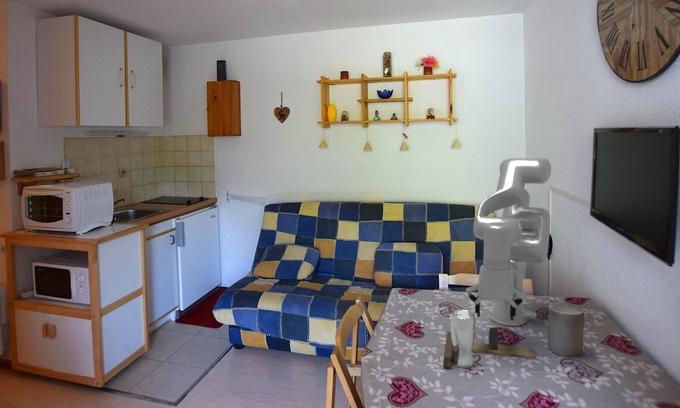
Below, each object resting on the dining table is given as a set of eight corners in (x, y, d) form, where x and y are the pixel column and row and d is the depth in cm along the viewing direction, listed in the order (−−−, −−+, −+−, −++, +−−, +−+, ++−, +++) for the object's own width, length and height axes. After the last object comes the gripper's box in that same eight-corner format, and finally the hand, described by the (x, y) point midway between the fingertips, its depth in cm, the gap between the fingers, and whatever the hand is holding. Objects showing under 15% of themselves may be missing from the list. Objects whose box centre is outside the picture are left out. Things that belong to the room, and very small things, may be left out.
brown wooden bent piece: (533, 351, 134) (534, 330, 133) (542, 381, 117) (543, 357, 116) (447, 341, 141) (447, 321, 140) (443, 368, 125) (443, 345, 124)
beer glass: (476, 369, 124) (477, 319, 122) (451, 368, 125) (452, 318, 123) (472, 357, 131) (473, 309, 129) (448, 356, 132) (449, 309, 130)
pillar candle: (579, 345, 138) (581, 299, 135) (585, 359, 128) (587, 311, 126) (545, 341, 141) (547, 296, 139) (548, 355, 132) (550, 307, 130)
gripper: (526, 261, 132) (523, 314, 135) (466, 258, 137) (465, 309, 140) (528, 269, 125) (526, 324, 128) (466, 265, 130) (465, 319, 133)
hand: (494, 316), depth 134 cm, fingers open, 9 cm apart
